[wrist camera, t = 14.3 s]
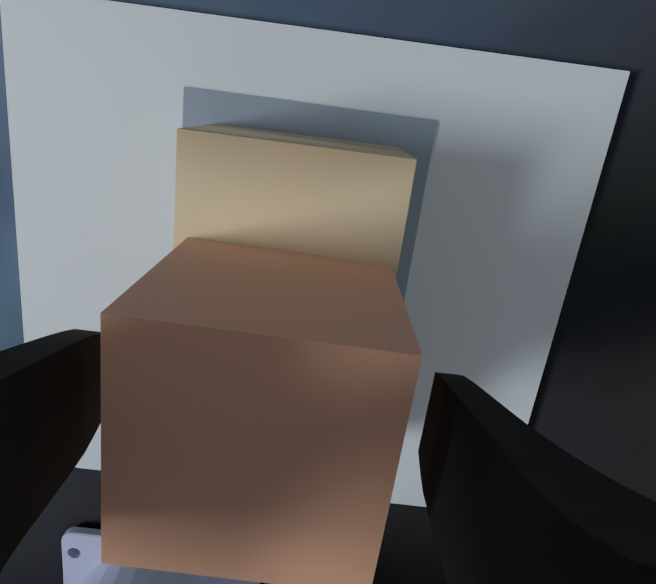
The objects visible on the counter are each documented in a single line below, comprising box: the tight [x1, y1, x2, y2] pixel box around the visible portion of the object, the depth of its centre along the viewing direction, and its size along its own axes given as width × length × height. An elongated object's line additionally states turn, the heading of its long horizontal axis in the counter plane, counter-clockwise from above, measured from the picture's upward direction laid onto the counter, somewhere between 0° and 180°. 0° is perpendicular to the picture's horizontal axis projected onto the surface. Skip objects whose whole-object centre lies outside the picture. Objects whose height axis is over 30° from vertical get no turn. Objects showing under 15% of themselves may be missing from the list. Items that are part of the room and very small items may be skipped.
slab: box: [174, 123, 417, 278], centre depth 16 cm, size 10×6×4 cm, turn 173°
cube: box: [100, 237, 422, 584], centre depth 11 cm, size 5×5×5 cm
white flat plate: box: [0, 0, 630, 507], centre depth 18 cm, size 16×18×1 cm
